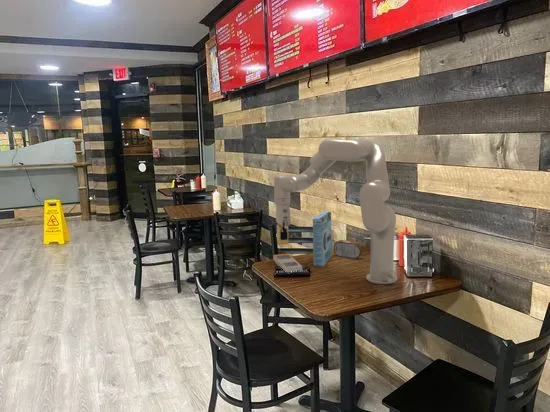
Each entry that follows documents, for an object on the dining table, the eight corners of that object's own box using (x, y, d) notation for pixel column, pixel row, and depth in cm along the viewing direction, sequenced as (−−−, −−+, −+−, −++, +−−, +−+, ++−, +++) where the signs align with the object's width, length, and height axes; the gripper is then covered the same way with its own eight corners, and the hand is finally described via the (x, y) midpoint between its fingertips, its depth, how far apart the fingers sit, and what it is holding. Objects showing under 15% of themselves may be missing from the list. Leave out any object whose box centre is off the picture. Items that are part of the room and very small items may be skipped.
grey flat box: (302, 272, 190) (302, 266, 190) (285, 274, 188) (285, 268, 188) (288, 259, 211) (288, 253, 211) (273, 261, 209) (273, 255, 209)
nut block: (288, 244, 203) (288, 225, 201) (279, 245, 202) (279, 226, 200) (285, 242, 207) (285, 223, 205) (277, 242, 206) (276, 224, 204)
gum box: (323, 267, 197) (322, 219, 194) (312, 266, 199) (311, 218, 195) (332, 256, 215) (331, 212, 212) (322, 255, 217) (322, 211, 213)
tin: (363, 258, 210) (363, 242, 208) (360, 260, 207) (360, 243, 206) (335, 254, 218) (335, 238, 216) (332, 256, 215) (332, 240, 214)
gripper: (295, 203, 194) (295, 242, 197) (285, 198, 210) (285, 233, 213) (279, 204, 192) (279, 243, 195) (270, 198, 208) (271, 235, 211)
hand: (282, 238), depth 204 cm, fingers closed on nut block, 4 cm apart
